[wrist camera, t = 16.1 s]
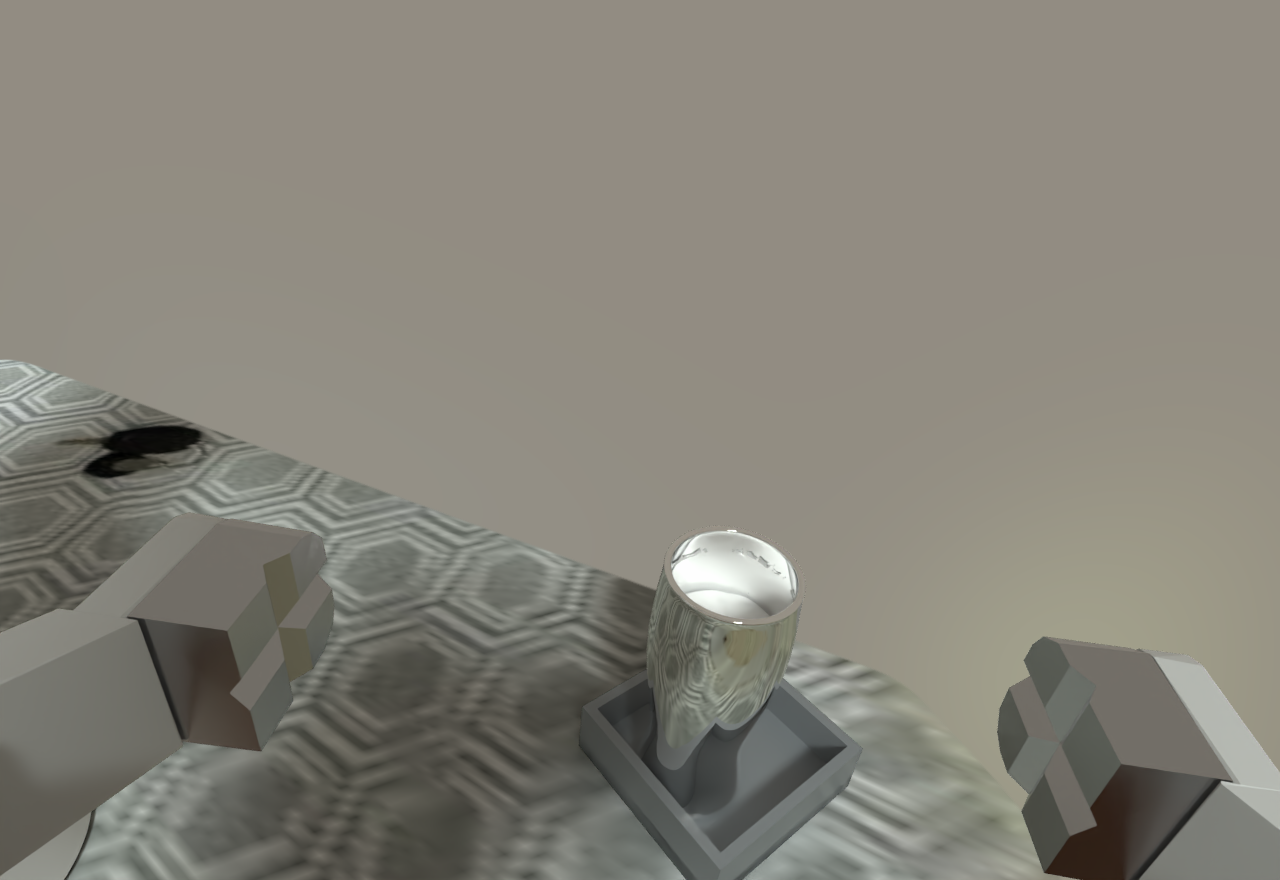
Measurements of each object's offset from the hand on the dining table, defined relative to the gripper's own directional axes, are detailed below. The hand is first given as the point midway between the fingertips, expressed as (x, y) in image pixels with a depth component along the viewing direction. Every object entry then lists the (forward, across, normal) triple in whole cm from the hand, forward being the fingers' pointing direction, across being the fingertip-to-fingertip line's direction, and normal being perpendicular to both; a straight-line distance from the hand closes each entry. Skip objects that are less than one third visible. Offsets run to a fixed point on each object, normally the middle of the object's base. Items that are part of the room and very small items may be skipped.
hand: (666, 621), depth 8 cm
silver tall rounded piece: (+20, -3, +31) cm, 37 cm away
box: (+21, -5, +32) cm, 39 cm away
